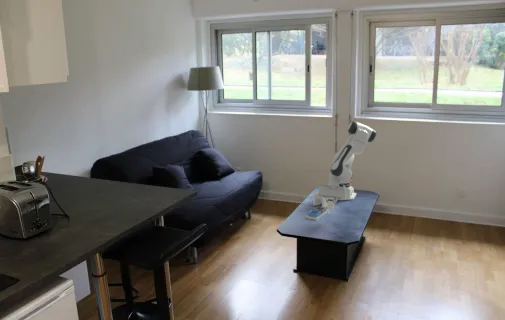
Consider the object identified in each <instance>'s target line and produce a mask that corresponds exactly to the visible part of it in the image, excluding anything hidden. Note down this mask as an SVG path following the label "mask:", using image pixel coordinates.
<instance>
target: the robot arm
mask: <svg viewBox="0 0 505 320" xmlns="http://www.w3.org/2000/svg"><path fill="white" fill-rule="evenodd" d="M347 131H348V133H349V135H348V137H347V139H346V141H345V142H344V143H343V145H342V147H341V148H340V149H339V150H338V152H337V153H336V154H335V155H334V156H333V157H332V161H331V162H332V165H331V166H330V172H329V176H328V179H329V180H327V181H328V182H327V184H322V185H319V186H318V187H319V188H318V191H319V192H318V195H319V197H325V199H326V203H328V200H327V198H328V197H334V198H335V200H334V202H333V203H334V205H335V204H336V203H337V202H338V200H339V201H349V200H354V199H355V197H356V196H357V192H355V189H354V188H355V187H353V186H352V185H351V184H352V181H353V180H352V178H353V175H354V174H353V171H352V165H353V162H354V160H355V156H356V155H360V154H362V153H364V150H365V149H366V147H367V144H368V143H372V142H373V141H374V140H376V138H377V137H376V136H377V131H376V130H375V129H373V128H371V127H369V126H368V125H366V124H363V123H360V122H358V121H355V120H353V121H351V122H350V123H349V124H348V127H347Z"/></svg>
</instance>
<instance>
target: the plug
mask: <svg viewBox="0 0 505 320" xmlns="http://www.w3.org/2000/svg"><path fill="white" fill-rule="evenodd" d="M334 201H335V200H334V197H328V206H327V208H326V210H334V209H335V208H334V207H335V204H334V203H333V202H334Z"/></svg>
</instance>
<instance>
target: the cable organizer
mask: <svg viewBox="0 0 505 320" xmlns="http://www.w3.org/2000/svg"><path fill="white" fill-rule="evenodd" d="M318 192H319V190H317V191H315V192H313V194H312V204H313V206H315V207H317V206H320V205H321V207H325V208H326V209H327V206H328V203H326V199H325V197H319V195H318ZM327 200H328V198H327ZM335 200H336V199H335V198H334V201H335Z"/></svg>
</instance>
